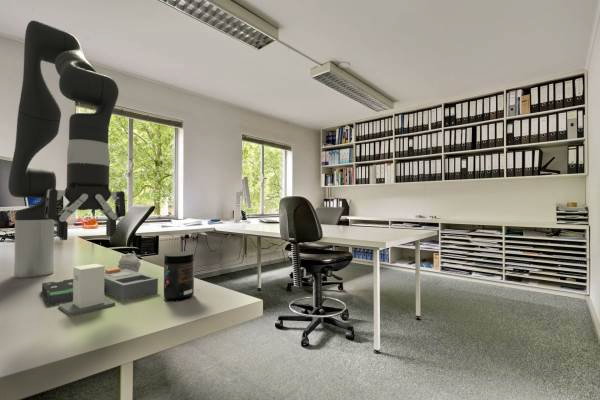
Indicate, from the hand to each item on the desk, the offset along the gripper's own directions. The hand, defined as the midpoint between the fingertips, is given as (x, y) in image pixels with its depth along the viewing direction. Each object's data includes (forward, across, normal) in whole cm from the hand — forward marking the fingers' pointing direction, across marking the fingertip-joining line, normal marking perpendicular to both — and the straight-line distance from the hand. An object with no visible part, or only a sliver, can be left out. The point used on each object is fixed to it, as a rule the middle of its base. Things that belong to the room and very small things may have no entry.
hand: (87, 237), depth 65 cm
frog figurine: (+15, -17, -20) cm, 31 cm away
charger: (+14, 0, 0) cm, 14 cm away
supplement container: (+15, -16, +10) cm, 24 cm away
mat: (+15, 0, 0) cm, 15 cm away
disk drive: (+16, -1, -14) cm, 21 cm away
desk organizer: (+15, -10, -10) cm, 21 cm away
